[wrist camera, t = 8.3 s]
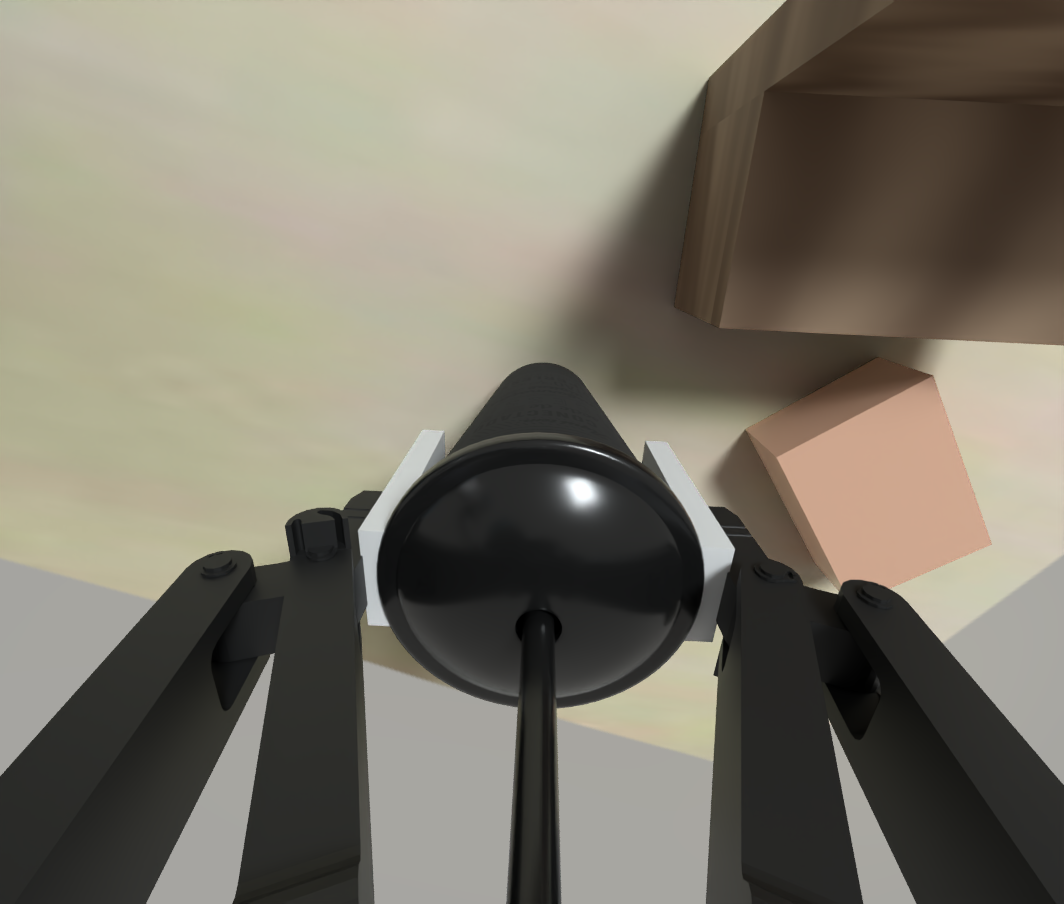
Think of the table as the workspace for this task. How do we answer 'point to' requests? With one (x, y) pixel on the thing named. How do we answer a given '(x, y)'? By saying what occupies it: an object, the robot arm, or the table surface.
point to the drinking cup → (540, 581)
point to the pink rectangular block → (873, 476)
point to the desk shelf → (885, 174)
